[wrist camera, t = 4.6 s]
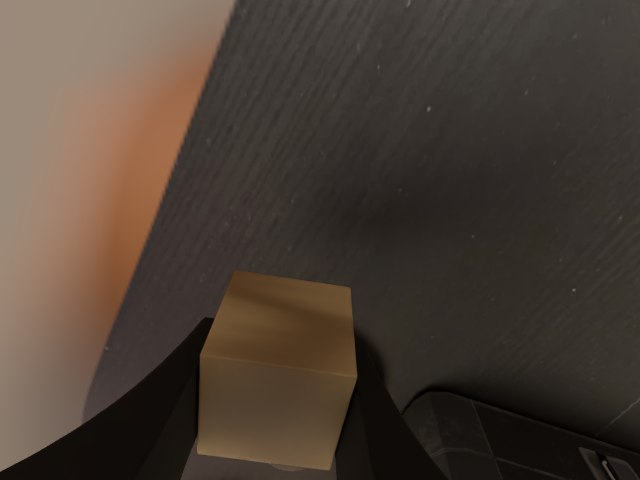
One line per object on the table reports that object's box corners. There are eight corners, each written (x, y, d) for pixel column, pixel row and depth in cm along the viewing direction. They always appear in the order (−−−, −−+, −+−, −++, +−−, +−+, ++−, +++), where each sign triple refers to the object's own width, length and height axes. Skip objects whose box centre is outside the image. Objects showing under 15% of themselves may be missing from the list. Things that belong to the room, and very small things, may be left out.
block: (227, 355, 15) (196, 454, 11) (234, 268, 13) (199, 354, 10) (330, 370, 15) (330, 471, 12) (350, 286, 13) (357, 377, 10)
